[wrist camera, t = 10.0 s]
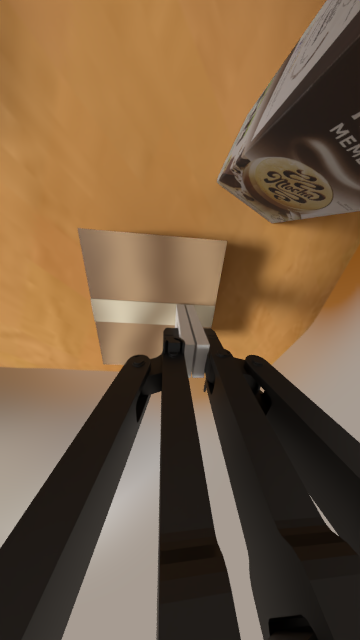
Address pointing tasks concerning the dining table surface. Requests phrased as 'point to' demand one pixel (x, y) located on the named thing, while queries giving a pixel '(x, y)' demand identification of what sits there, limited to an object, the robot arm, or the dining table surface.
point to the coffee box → (305, 127)
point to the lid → (147, 287)
